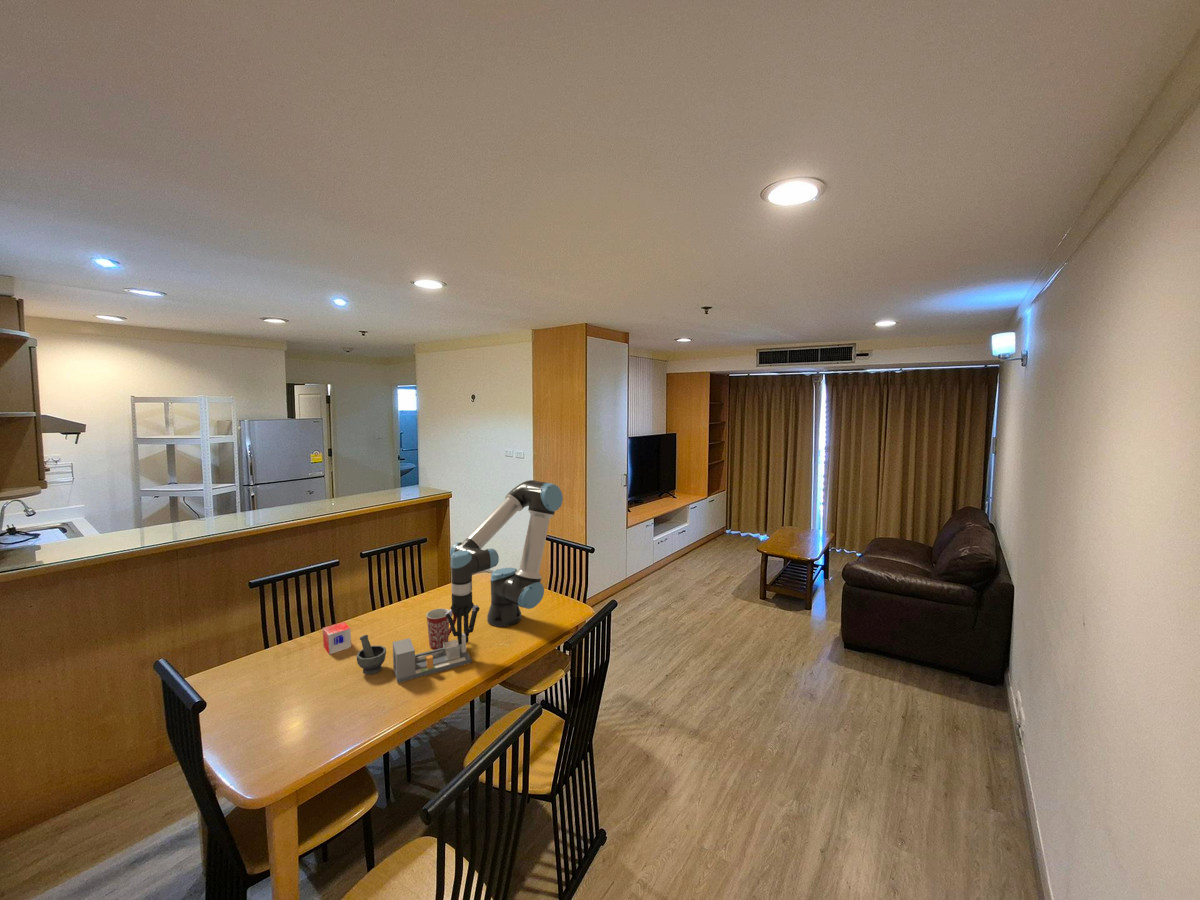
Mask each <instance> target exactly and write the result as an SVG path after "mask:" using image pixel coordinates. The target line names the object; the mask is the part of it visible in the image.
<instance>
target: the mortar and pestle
mask: <svg viewBox="0 0 1200 900" xmlns="http://www.w3.org/2000/svg"><path fill="white" fill-rule="evenodd" d="M359 640H360V642H361V646H362V649H361V650H359V651H358V652H357V654H356V662H357V663H356V664H357V665H358V666H359V668H361V669H362V673H363V675H366V676H367V675H369V676H371V675H374V674H378V672H380V671H382V664H384V662H385V660H386V654H387V648H386V647H385V646H383V645H371V643H370V640H369V634H364V635H362V636H360V637H359Z"/></svg>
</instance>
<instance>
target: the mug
mask: <svg viewBox="0 0 1200 900" xmlns="http://www.w3.org/2000/svg"><path fill="white" fill-rule="evenodd" d="M449 610H450V609H447V608H435V609H432V610H430V611H428V612H427V613H426V615H425V617H426V623H427V633H428V643H429V645H428V646H429V648H430V649H432V650H436V649H440V648H443V643H445V642H449V637H450V635H451V633H452V630H451V627H450V624H449V620H448V618H447V617H446V615H445V612H448V611H449ZM452 616H453V618H452V619H453V623H454V626H456V624H457V617H456V615H455V614H454V613H453V612H452Z"/></svg>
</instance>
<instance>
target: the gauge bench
mask: <svg viewBox="0 0 1200 900" xmlns="http://www.w3.org/2000/svg"><path fill="white" fill-rule="evenodd" d="M442 650H443V648H440V649H432V650H428V651H424V652H421V653H417V654H416V650H415V646H414V645H413V643H412V640H411V638H410V637H408V638H404V639H401V640H396V641H393V642H392V665H393V673H394V676H395V679H396V683H397V684H400V683H403V682H407V681H411V680H414V679H418V678H421V677H425V676H429V675H432V674H437V673H441V672H442V671H443V672H444V671H447V670H451V669H454V668H458V667H461V666H465V665H468V663H469V664H472V657H471V656H470V654H469V653H468V651H467V650H466V652H465V653H462V652H461V650H460V658H458V659H455V660H451V661H447V662H446V660H445V658H444V656H443V655H441V656H437V657H433V668H431V669H427V667H426V660H422V661H418V662H415V657H419V656H423V655H427V654H431V653H435V652H439V651H442ZM464 664H465V665H464Z"/></svg>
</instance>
